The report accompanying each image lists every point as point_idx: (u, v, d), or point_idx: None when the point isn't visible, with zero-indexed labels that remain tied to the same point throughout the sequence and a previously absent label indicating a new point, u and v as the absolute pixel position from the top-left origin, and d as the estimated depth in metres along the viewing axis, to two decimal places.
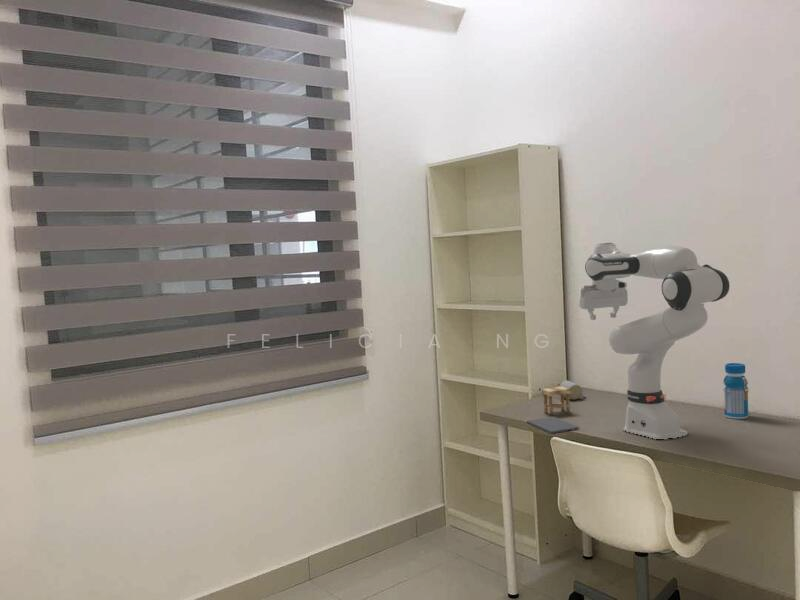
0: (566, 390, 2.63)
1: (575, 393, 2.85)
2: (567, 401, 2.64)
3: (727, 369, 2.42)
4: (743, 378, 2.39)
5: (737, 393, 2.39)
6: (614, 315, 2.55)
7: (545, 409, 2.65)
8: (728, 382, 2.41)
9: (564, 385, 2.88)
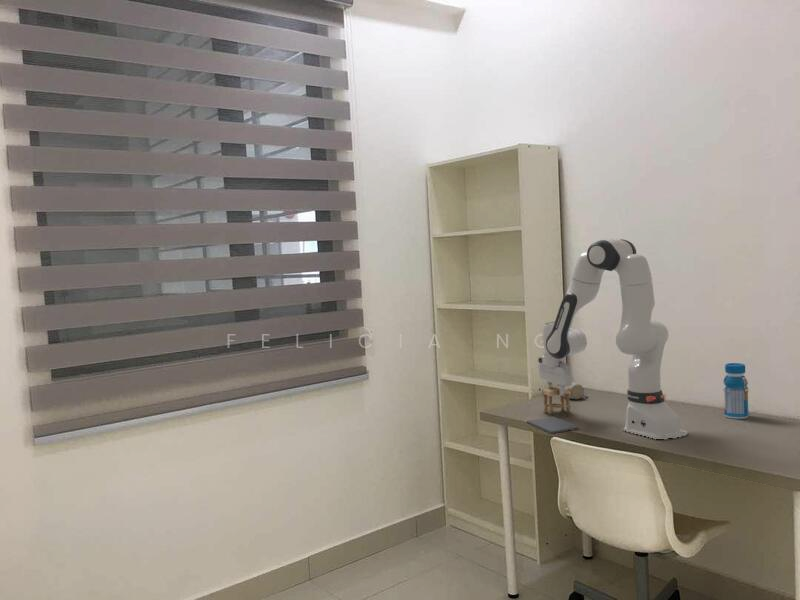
0: (566, 390, 2.63)
1: (577, 393, 2.85)
2: (567, 401, 2.64)
3: (727, 369, 2.42)
4: (743, 378, 2.39)
5: (737, 393, 2.39)
6: None
7: (545, 409, 2.65)
8: (728, 382, 2.41)
9: None
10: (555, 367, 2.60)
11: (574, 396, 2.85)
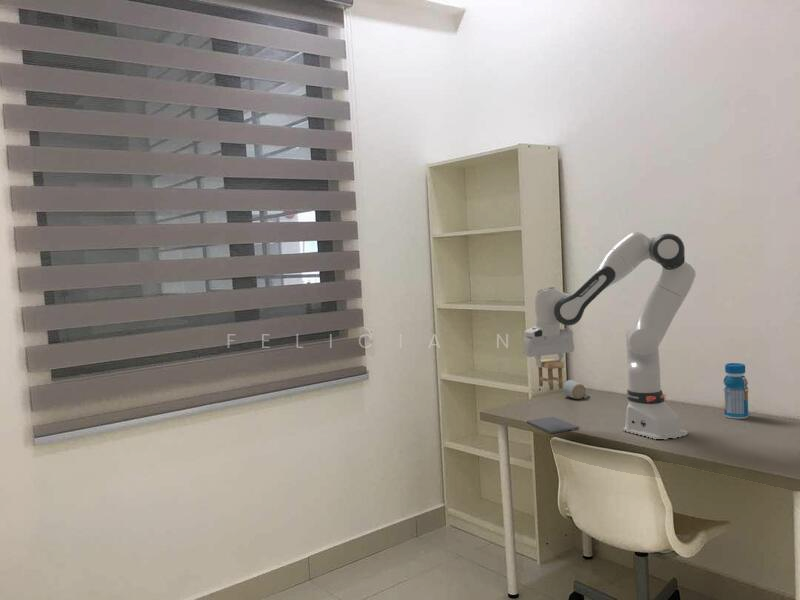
0: None
1: (579, 392, 2.85)
2: None
3: (727, 369, 2.42)
4: (743, 378, 2.39)
5: (737, 393, 2.39)
6: None
7: (552, 385, 2.41)
8: (728, 382, 2.41)
9: (568, 384, 2.89)
10: (558, 335, 2.44)
11: (576, 396, 2.85)
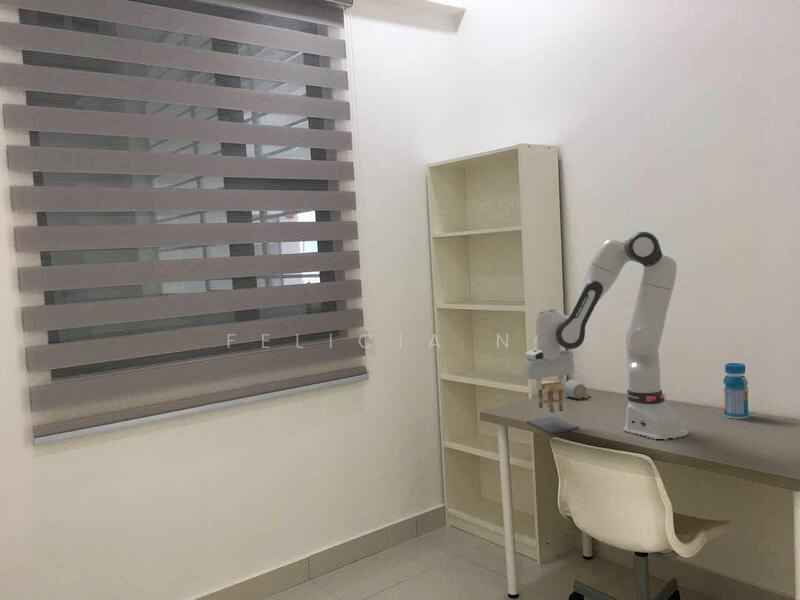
0: None
1: (580, 392, 2.86)
2: None
3: (727, 369, 2.42)
4: (743, 378, 2.39)
5: (737, 393, 2.39)
6: None
7: (553, 407, 2.41)
8: (728, 382, 2.41)
9: (569, 384, 2.89)
10: (558, 358, 2.44)
11: (577, 396, 2.85)
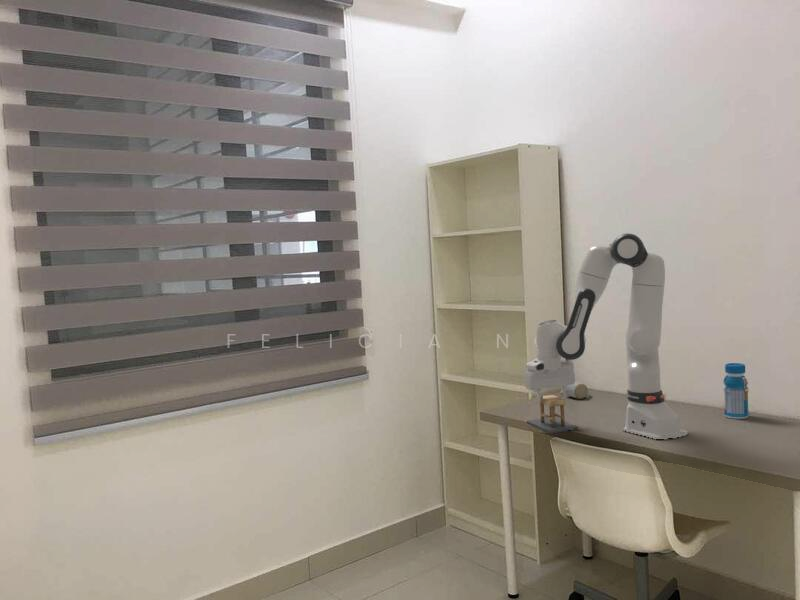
0: None
1: (581, 392, 2.86)
2: None
3: (727, 369, 2.42)
4: (743, 378, 2.39)
5: (737, 393, 2.39)
6: None
7: None
8: (728, 382, 2.41)
9: None
10: (559, 368, 2.44)
11: (578, 395, 2.85)
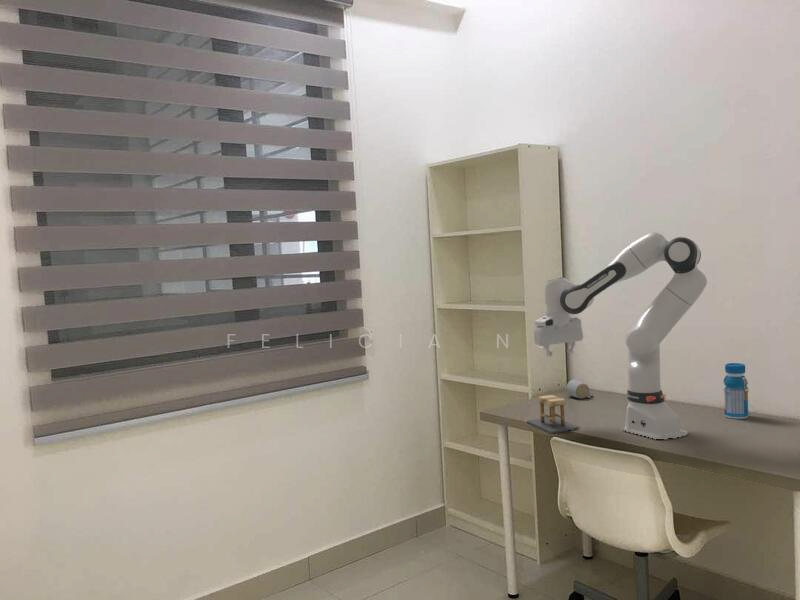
0: None
1: (582, 392, 2.86)
2: None
3: (727, 369, 2.42)
4: (743, 378, 2.39)
5: (737, 393, 2.39)
6: None
7: None
8: (728, 382, 2.41)
9: (571, 384, 2.89)
10: (568, 324, 2.49)
11: (579, 395, 2.86)
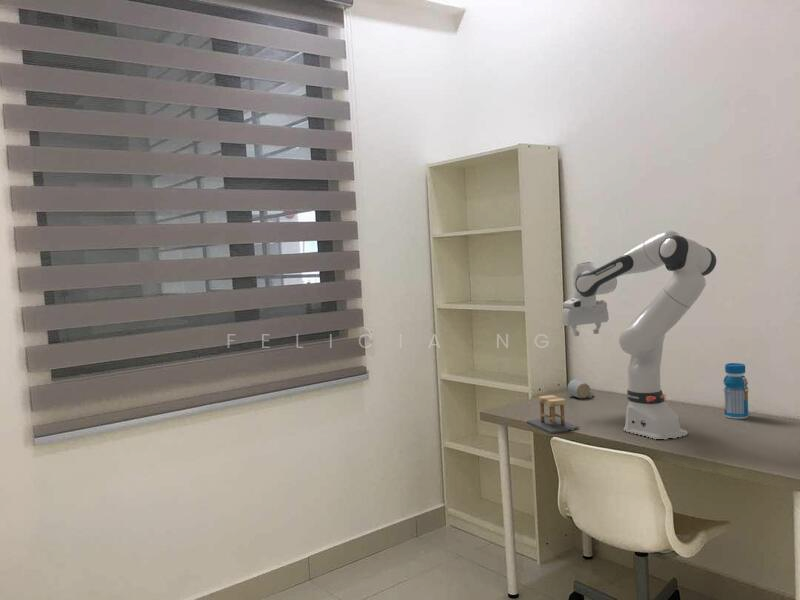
0: None
1: (583, 392, 2.86)
2: None
3: (727, 369, 2.42)
4: (743, 378, 2.39)
5: (737, 393, 2.39)
6: None
7: None
8: (728, 382, 2.41)
9: (572, 384, 2.89)
10: (594, 306, 2.65)
11: (581, 395, 2.86)
